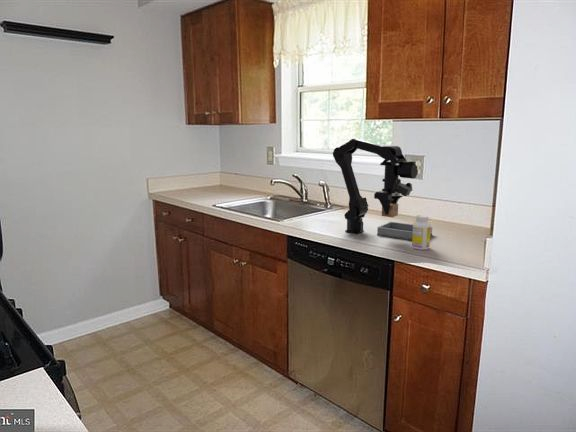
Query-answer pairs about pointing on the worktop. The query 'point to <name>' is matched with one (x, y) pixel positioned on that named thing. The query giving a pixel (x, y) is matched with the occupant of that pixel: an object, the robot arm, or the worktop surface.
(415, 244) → the supplement bottle
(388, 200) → the robot arm
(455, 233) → the worktop surface
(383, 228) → the box
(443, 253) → the worktop surface
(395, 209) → the walnut cube
